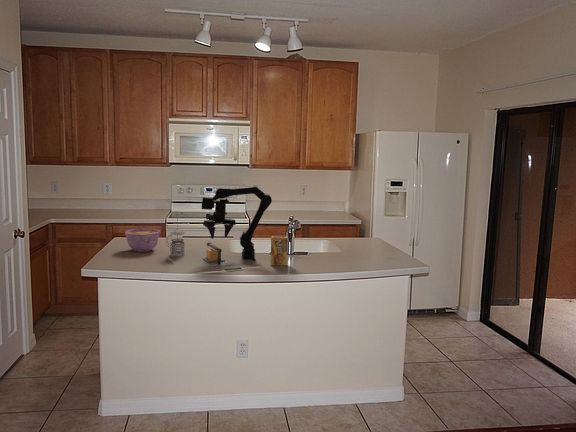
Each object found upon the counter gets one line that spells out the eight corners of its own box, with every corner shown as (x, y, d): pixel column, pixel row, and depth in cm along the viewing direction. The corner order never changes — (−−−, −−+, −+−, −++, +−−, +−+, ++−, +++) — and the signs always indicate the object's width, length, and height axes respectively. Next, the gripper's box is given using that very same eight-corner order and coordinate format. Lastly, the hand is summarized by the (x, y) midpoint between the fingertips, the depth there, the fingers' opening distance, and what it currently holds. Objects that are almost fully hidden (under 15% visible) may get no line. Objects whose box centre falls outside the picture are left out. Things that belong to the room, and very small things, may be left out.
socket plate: (218, 258, 282) (218, 255, 282) (231, 266, 265) (231, 262, 265) (198, 259, 277) (198, 256, 277) (210, 268, 259) (210, 265, 259)
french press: (182, 259, 278) (181, 214, 274) (162, 257, 280) (162, 213, 277) (189, 255, 288) (188, 212, 284) (170, 253, 290) (169, 211, 286)
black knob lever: (222, 264, 264) (222, 249, 263) (218, 264, 263) (218, 249, 262) (210, 256, 281) (210, 242, 279) (206, 256, 279) (206, 242, 278)
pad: (236, 266, 266) (236, 265, 266) (243, 269, 258) (243, 269, 258) (220, 267, 262) (220, 266, 261) (226, 271, 254) (226, 270, 254)
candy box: (286, 263, 274) (287, 236, 271) (286, 265, 269) (287, 237, 267) (270, 263, 274) (271, 236, 271) (270, 265, 269) (271, 237, 267)
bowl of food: (119, 249, 297) (119, 230, 296) (150, 245, 311) (150, 227, 309) (134, 255, 283) (133, 235, 281) (166, 251, 296) (166, 232, 294)
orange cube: (216, 258, 277) (216, 248, 276) (220, 261, 271) (220, 250, 270) (206, 259, 274) (206, 249, 273) (210, 262, 268) (210, 251, 268)
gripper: (224, 207, 287) (223, 234, 289) (197, 209, 274) (196, 236, 276) (237, 210, 279) (235, 237, 282) (209, 211, 266) (208, 240, 268)
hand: (219, 237), depth 277 cm, fingers open, 9 cm apart
